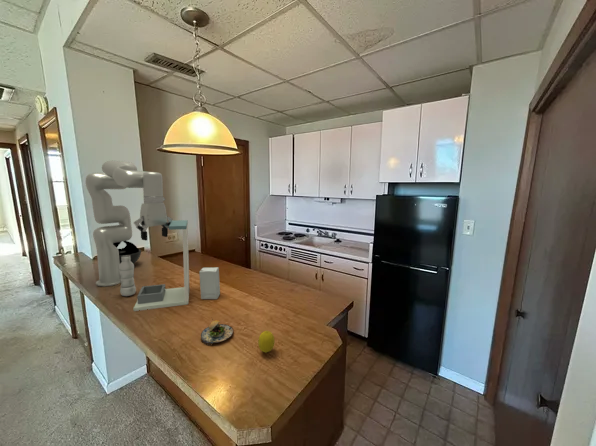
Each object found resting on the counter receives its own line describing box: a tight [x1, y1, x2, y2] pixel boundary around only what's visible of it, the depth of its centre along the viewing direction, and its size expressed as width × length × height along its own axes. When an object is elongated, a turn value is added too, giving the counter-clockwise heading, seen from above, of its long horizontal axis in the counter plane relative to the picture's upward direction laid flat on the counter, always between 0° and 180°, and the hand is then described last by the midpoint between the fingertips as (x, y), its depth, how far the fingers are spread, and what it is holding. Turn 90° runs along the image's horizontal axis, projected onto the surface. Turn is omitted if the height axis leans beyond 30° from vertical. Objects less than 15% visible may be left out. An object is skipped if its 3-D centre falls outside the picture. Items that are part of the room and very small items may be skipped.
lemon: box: [257, 330, 275, 354], centre depth 85 cm, size 6×6×8 cm
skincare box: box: [198, 267, 221, 300], centre depth 125 cm, size 8×6×15 cm
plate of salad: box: [200, 318, 234, 347], centre depth 94 cm, size 12×12×8 cm
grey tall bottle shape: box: [118, 255, 137, 297], centre depth 123 cm, size 6×7×20 cm
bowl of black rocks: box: [113, 240, 142, 265], centre depth 163 cm, size 20×20×19 cm
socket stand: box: [132, 219, 190, 312], centre depth 119 cm, size 18×22×38 cm
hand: (155, 238), depth 113 cm, fingers open, 9 cm apart
